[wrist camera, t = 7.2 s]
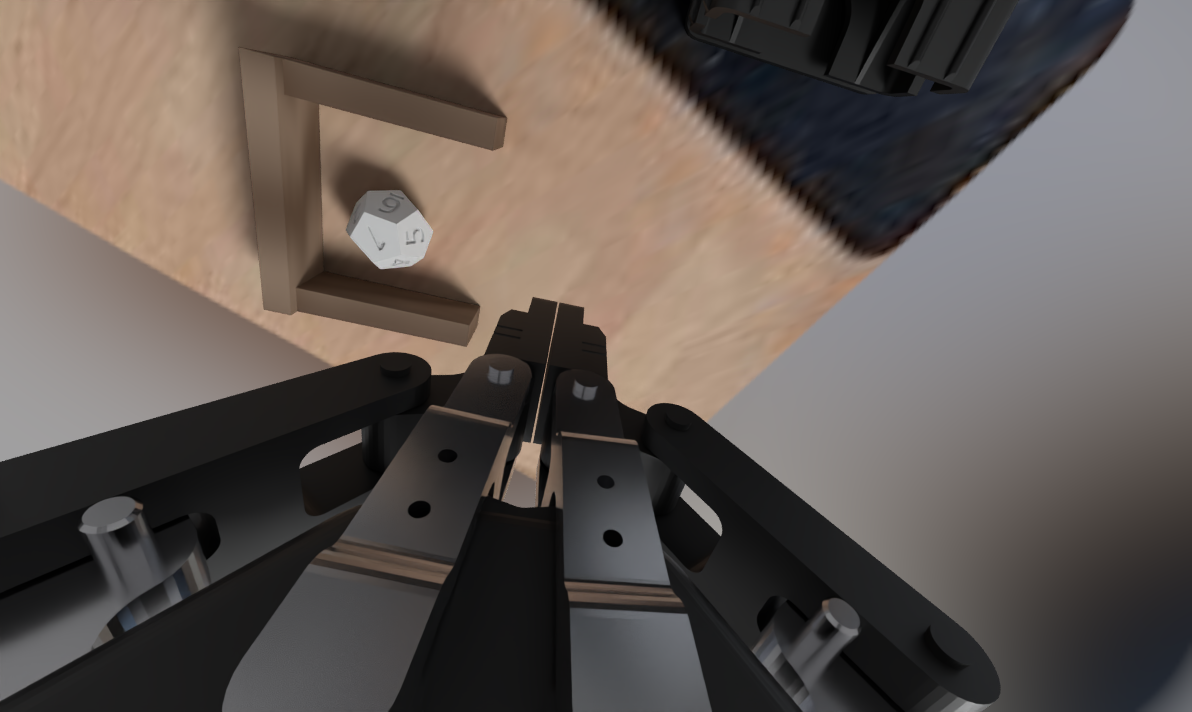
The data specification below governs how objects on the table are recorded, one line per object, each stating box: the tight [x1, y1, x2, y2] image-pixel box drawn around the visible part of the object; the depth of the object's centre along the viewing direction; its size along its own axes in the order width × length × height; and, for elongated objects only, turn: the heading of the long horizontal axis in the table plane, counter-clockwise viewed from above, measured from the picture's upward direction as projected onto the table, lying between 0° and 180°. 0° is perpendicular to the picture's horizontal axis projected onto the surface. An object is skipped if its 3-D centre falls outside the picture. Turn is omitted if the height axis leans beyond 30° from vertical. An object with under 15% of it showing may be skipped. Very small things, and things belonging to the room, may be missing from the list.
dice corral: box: [239, 47, 507, 347], centre depth 20 cm, size 10×9×3 cm
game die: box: [346, 190, 433, 269], centre depth 21 cm, size 4×4×3 cm
